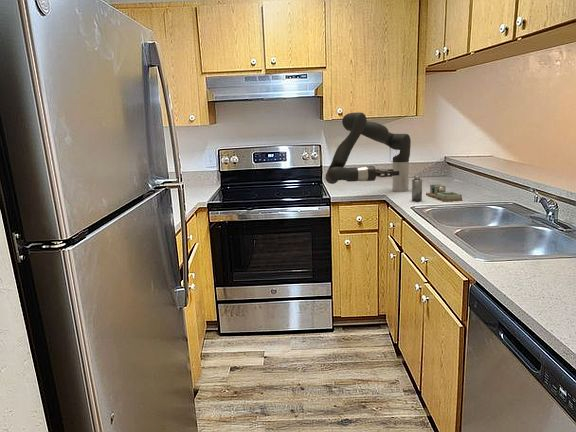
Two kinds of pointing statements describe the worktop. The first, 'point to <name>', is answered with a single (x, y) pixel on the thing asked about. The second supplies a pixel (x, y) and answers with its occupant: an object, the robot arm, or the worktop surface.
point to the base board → (441, 198)
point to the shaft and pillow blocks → (437, 188)
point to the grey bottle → (417, 189)
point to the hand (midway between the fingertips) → (396, 172)
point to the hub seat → (449, 195)
